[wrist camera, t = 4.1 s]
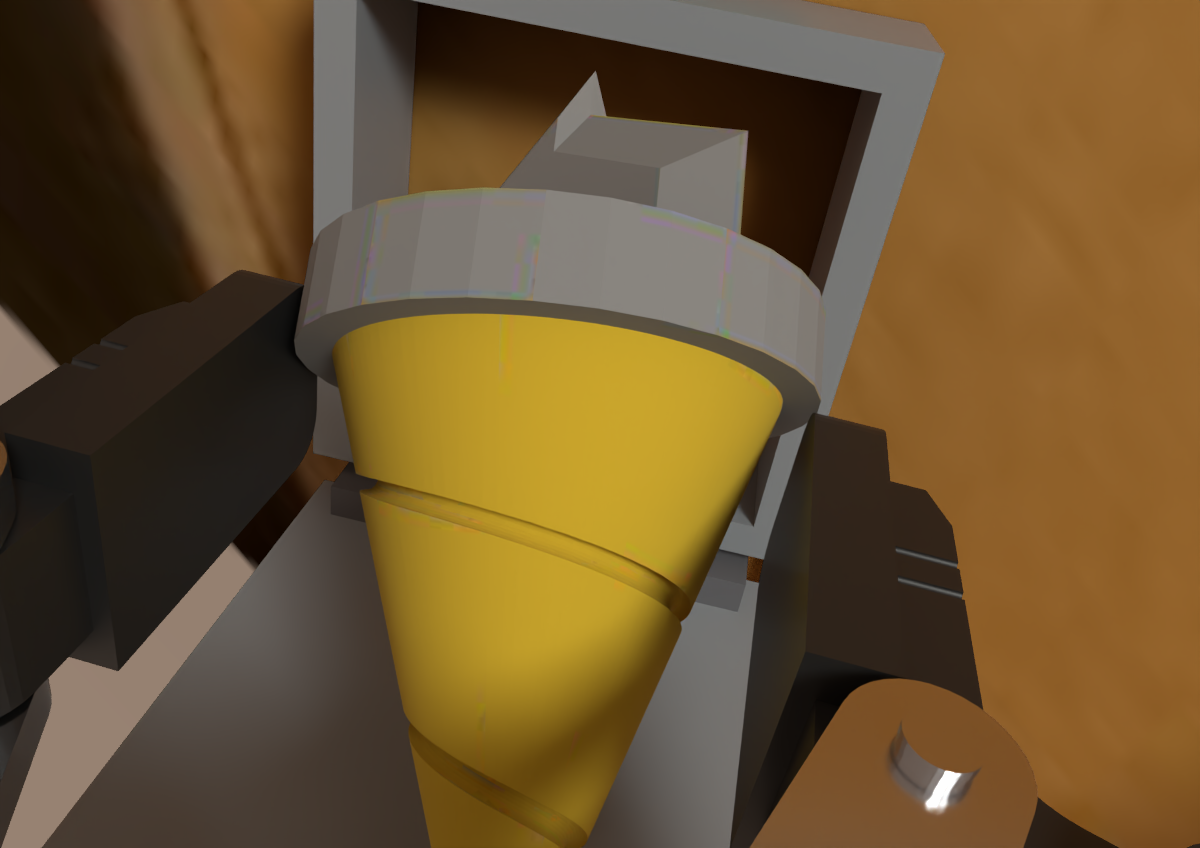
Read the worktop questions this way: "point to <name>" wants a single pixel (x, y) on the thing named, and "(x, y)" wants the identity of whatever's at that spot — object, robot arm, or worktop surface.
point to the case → (335, 513)
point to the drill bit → (554, 444)
